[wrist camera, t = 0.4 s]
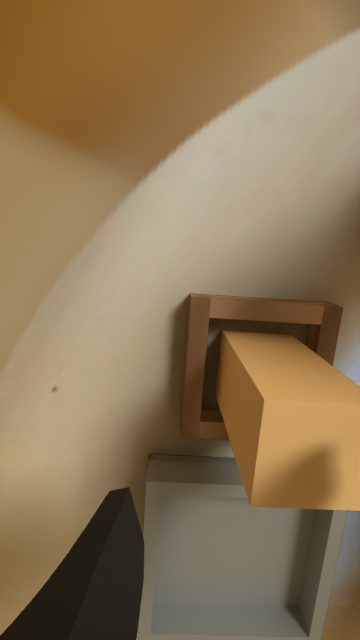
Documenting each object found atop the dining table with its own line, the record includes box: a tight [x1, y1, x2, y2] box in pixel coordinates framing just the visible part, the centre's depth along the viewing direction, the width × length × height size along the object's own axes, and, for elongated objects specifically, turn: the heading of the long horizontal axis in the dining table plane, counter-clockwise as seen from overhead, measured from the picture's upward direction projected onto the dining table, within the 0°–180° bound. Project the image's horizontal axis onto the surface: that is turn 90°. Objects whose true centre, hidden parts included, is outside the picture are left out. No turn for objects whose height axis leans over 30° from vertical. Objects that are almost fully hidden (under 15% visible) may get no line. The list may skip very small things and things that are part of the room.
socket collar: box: [180, 294, 343, 439], centre depth 19 cm, size 8×8×2 cm
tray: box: [137, 454, 347, 640], centre depth 22 cm, size 12×12×2 cm
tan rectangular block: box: [216, 330, 360, 511], centre depth 16 cm, size 4×4×9 cm
